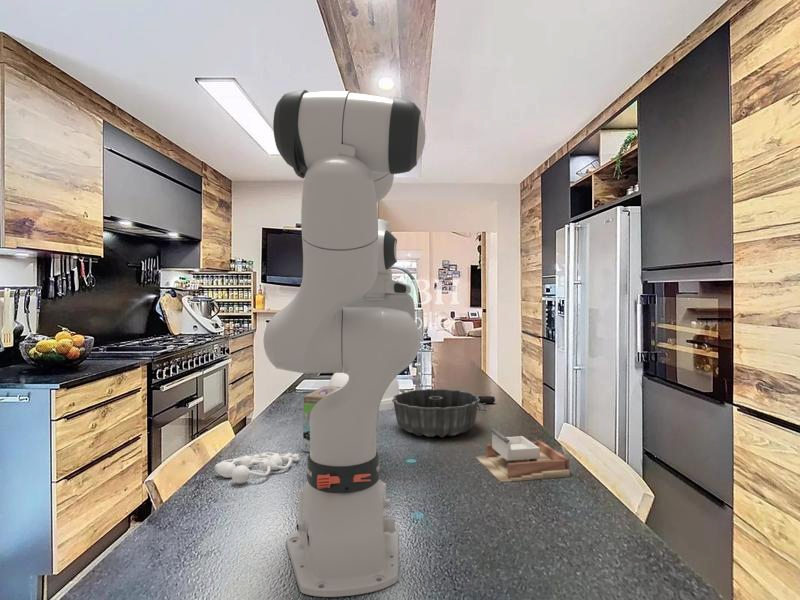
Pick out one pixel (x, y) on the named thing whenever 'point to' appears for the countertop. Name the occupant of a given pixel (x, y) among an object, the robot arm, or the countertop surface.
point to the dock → (527, 465)
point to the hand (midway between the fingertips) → (374, 343)
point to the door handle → (485, 401)
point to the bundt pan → (436, 411)
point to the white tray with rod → (514, 447)
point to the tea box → (308, 406)
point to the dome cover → (386, 401)
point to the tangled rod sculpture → (264, 460)
